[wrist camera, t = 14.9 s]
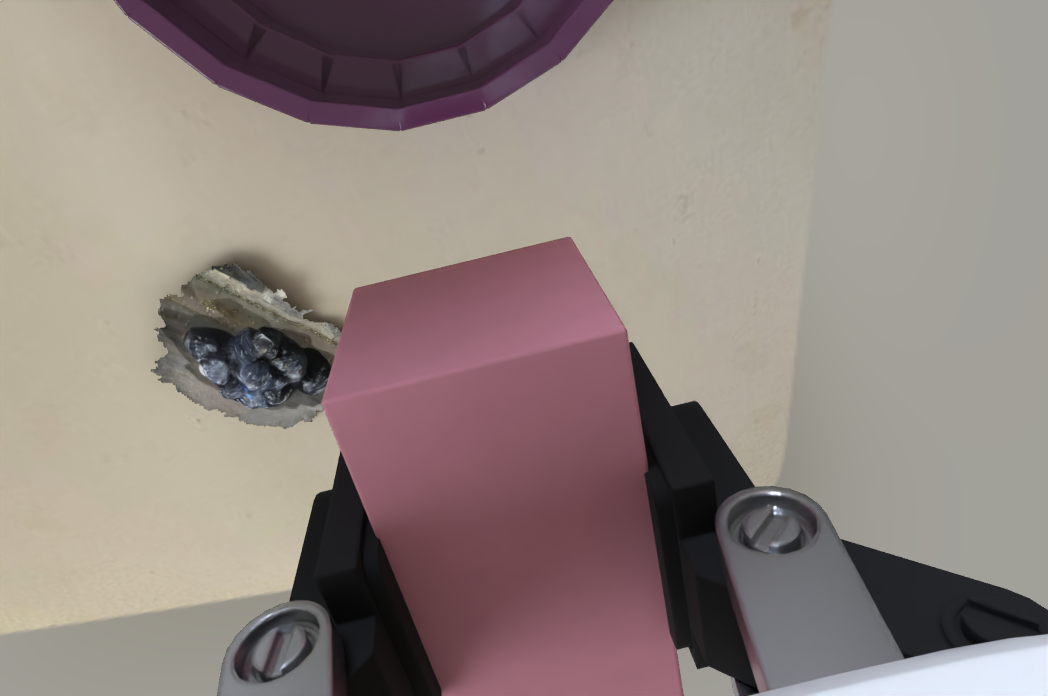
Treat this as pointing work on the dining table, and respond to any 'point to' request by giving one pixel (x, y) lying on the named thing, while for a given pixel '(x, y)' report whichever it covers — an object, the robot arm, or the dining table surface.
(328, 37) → the bowl
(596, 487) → the eraser
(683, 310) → the dining table surface
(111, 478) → the dining table surface
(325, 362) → the geode
